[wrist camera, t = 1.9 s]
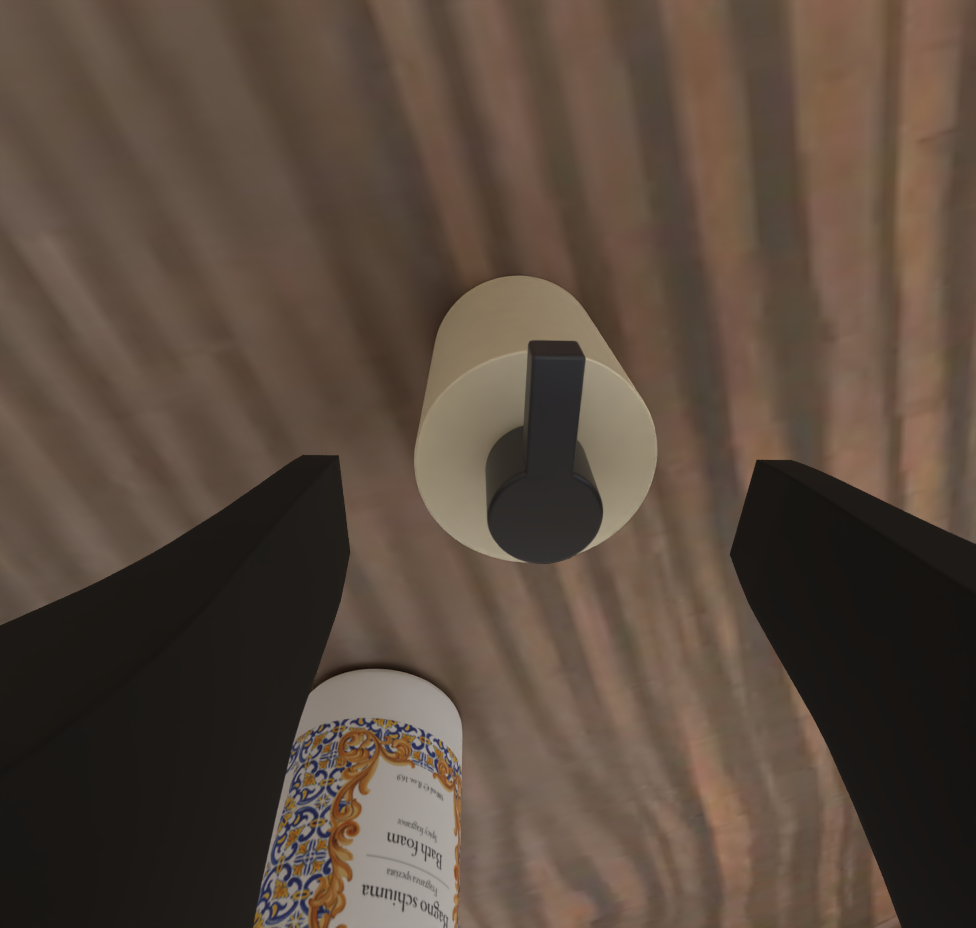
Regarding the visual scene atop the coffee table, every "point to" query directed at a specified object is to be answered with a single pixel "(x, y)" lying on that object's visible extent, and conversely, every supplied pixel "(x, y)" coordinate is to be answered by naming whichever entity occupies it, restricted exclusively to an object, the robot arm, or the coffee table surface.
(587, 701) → the coffee table surface
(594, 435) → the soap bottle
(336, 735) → the bath foam
